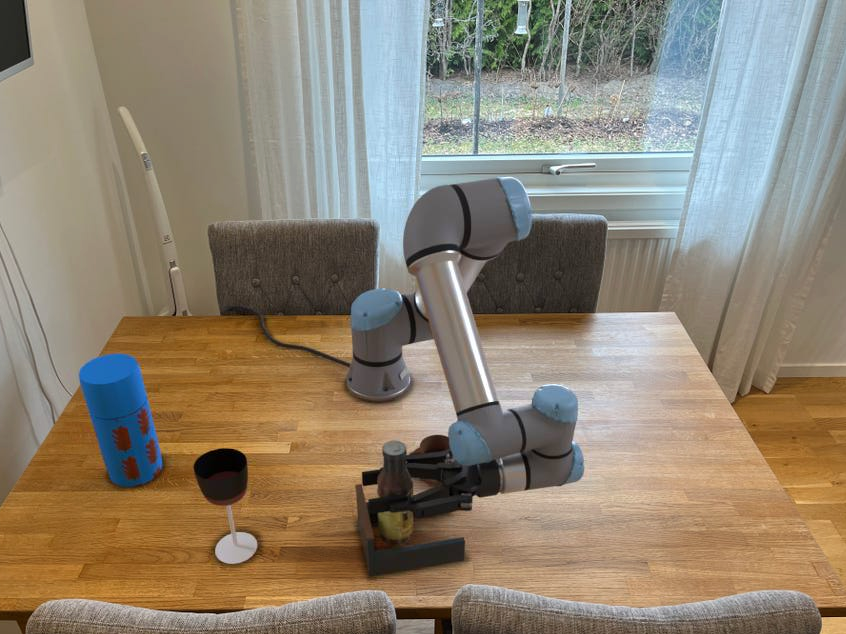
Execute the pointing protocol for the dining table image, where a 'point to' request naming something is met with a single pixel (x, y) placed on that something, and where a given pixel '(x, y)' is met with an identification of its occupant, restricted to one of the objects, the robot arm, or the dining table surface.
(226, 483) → the wineglass
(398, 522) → the sauce bottle
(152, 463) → the thermos
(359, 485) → the caddy
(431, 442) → the cup and saucer
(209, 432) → the dining table surface
